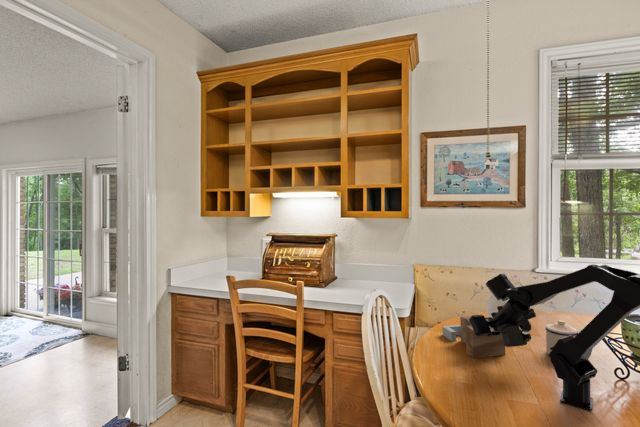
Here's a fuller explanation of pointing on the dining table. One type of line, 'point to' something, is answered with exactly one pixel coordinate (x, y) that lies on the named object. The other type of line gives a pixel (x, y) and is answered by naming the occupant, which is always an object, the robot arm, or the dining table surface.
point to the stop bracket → (451, 332)
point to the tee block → (480, 341)
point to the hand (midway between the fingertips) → (488, 335)
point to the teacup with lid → (557, 333)
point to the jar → (493, 305)
